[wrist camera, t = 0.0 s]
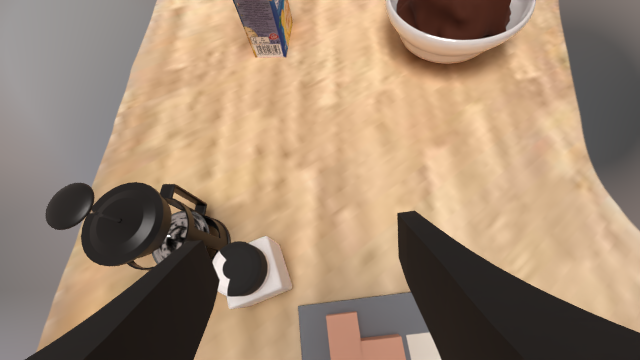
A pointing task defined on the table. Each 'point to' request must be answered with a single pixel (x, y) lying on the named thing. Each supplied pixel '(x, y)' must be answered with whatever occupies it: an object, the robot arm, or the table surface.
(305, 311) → the board
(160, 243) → the french press
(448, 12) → the bowl of chocolate pudding
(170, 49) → the table surface
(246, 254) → the medicine bottle
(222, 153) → the table surface
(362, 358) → the t block
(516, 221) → the table surface
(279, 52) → the beverage box
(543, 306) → the robot arm
